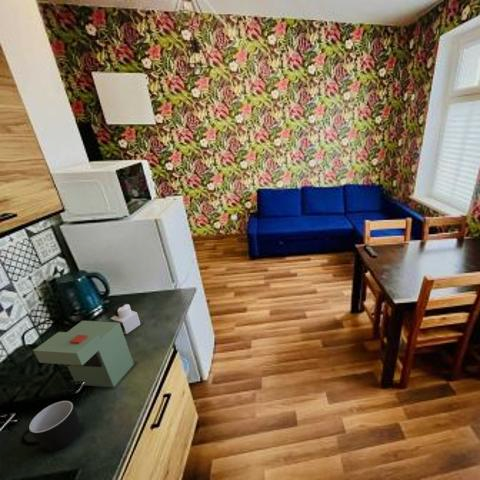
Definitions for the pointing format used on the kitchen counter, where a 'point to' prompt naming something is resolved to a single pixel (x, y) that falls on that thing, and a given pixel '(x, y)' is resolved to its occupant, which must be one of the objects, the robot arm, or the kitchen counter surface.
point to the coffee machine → (89, 352)
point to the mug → (54, 426)
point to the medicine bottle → (125, 317)
